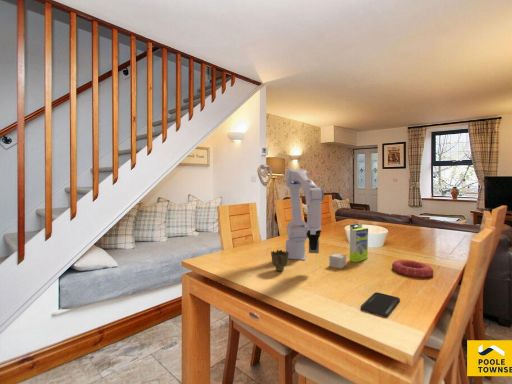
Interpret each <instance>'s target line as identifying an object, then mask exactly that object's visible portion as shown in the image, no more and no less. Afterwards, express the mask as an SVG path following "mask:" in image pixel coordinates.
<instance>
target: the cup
mask: <svg viewBox="0 0 512 384" xmlns="http://www.w3.org/2000/svg"><path fill="white" fill-rule="evenodd" d="M270 254H271V263H272V265H273V266H274V267H275V271H277V272H283V271H285V267H287V264H288V261H289V259H288V254H289V252H287V251H286V250H282V249H280V250H278V249H276V251H274V250H273V251H271V252H270Z"/></svg>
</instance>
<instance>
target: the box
mask: <svg viewBox="0 0 512 384" xmlns="http://www.w3.org/2000/svg"><path fill="white" fill-rule="evenodd" d="M368 247H369V228H368V227H364V226H363V223H362V222H358V223H353V224H349V262H352V263H357V262H361V261H364V260H367V259H368V250H369V249H368Z"/></svg>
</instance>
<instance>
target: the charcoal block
mask: <svg viewBox="0 0 512 384" xmlns="http://www.w3.org/2000/svg"><path fill="white" fill-rule="evenodd" d="M319 253H320V239H318V242H317V248H316V250H311V248H310V243H309V242H308V254H317V255H318V254H319Z"/></svg>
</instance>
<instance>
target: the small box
mask: <svg viewBox="0 0 512 384" xmlns="http://www.w3.org/2000/svg"><path fill="white" fill-rule="evenodd" d="M328 259H329V267H330V268H331V267H332V268H335V269H343V268H344V267H346V266H347V256H346V255H345V254H339V253H333V254H331V255H329V258H328Z"/></svg>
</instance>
